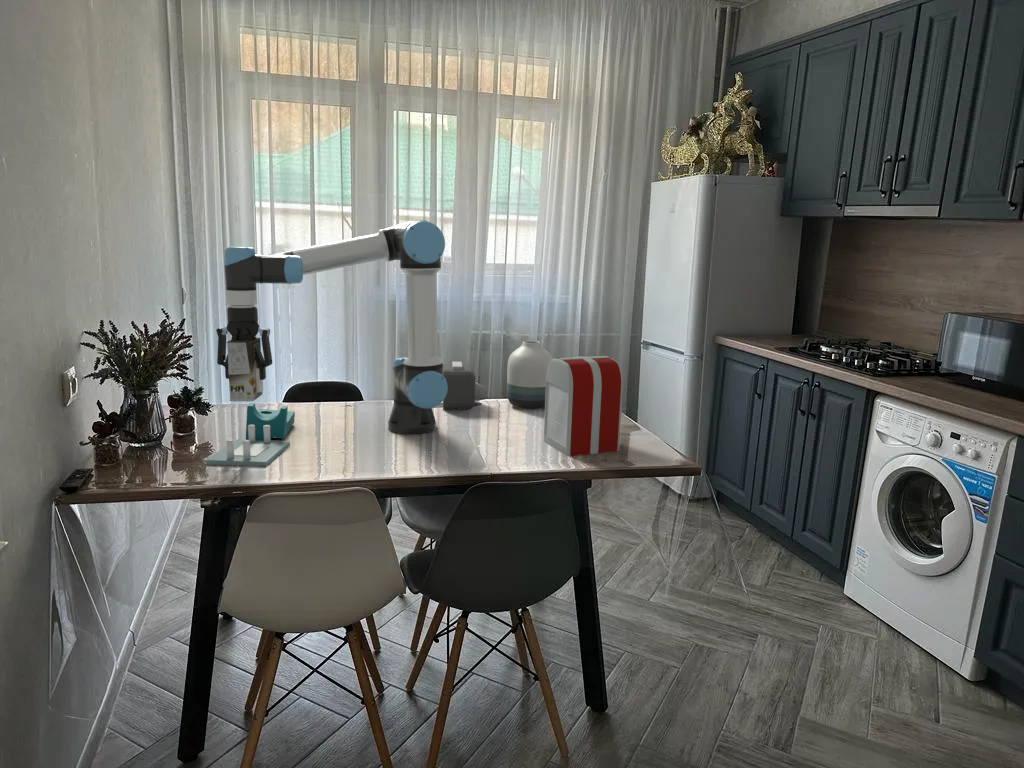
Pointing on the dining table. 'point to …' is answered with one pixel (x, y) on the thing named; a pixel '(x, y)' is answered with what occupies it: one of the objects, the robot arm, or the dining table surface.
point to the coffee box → (242, 370)
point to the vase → (528, 375)
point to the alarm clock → (459, 386)
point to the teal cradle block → (269, 421)
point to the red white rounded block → (583, 405)
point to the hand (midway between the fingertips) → (246, 390)
